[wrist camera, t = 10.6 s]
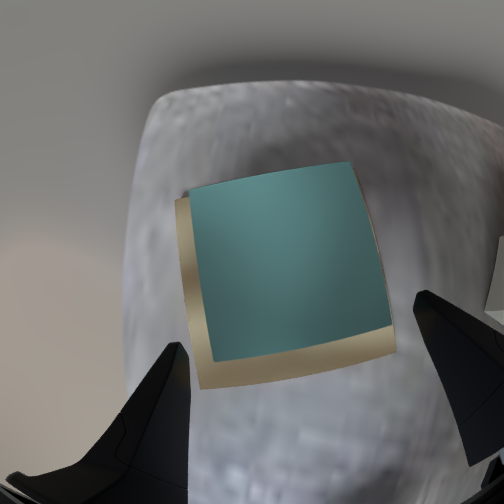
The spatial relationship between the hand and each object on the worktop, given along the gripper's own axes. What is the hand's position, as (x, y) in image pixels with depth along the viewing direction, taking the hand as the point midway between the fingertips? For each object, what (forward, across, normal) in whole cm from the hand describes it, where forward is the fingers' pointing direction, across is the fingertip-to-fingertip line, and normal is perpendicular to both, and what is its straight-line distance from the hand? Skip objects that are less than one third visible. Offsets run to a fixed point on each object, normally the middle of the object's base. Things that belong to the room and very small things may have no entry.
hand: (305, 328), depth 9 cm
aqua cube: (+7, 0, +3) cm, 8 cm away
